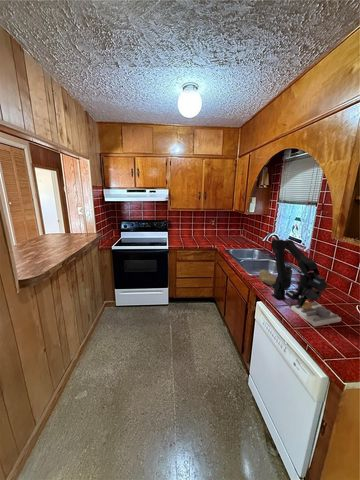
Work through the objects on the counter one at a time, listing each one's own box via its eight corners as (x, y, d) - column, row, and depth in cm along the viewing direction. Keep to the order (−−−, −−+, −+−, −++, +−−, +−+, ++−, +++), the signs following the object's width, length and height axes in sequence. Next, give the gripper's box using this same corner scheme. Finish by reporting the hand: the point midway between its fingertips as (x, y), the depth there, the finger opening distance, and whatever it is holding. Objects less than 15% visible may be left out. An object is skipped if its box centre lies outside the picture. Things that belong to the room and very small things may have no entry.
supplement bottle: (287, 278, 159) (290, 264, 156) (292, 282, 152) (295, 268, 149) (279, 278, 159) (281, 264, 156) (284, 282, 152) (286, 268, 149)
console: (291, 308, 119) (291, 304, 118) (314, 305, 123) (315, 300, 122) (314, 326, 104) (315, 321, 103) (340, 321, 108) (342, 316, 107)
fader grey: (315, 313, 111) (316, 307, 110) (320, 312, 112) (322, 306, 111) (323, 319, 106) (324, 312, 105) (329, 318, 107) (330, 311, 106)
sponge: (257, 276, 164) (258, 282, 145) (259, 268, 163) (261, 272, 144) (273, 282, 160) (277, 289, 141) (276, 273, 159) (280, 278, 140)
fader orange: (298, 306, 117) (299, 300, 116) (303, 305, 118) (305, 299, 117) (305, 311, 113) (306, 305, 112) (310, 310, 114) (312, 304, 113)
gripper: (303, 291, 100) (297, 317, 104) (331, 287, 105) (325, 312, 109) (286, 281, 111) (282, 305, 115) (313, 278, 115) (308, 301, 119)
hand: (300, 306), depth 114 cm, fingers closed
